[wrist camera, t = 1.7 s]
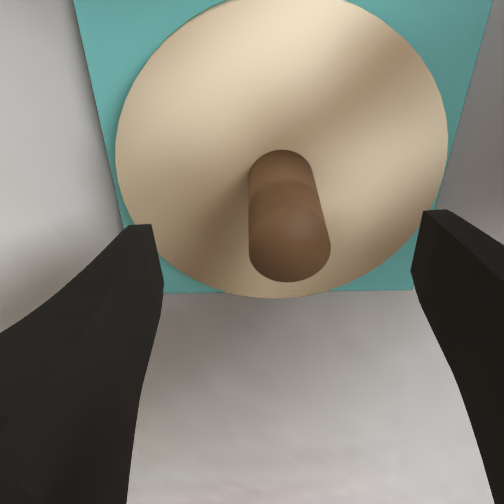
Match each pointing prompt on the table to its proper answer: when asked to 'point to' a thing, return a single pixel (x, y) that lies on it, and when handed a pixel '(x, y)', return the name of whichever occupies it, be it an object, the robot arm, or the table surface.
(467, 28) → the mat
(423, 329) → the table surface
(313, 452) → the table surface
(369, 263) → the cover
